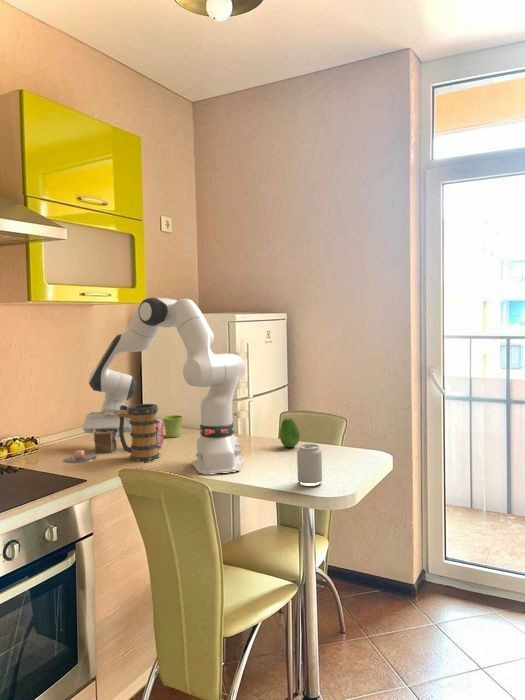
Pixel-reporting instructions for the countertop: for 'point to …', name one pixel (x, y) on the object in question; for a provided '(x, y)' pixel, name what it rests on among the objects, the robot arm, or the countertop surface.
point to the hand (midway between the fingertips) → (105, 440)
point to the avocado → (289, 433)
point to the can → (309, 463)
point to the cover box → (105, 441)
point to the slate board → (72, 460)
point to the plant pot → (173, 425)
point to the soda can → (159, 433)
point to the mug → (141, 432)
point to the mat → (106, 453)
